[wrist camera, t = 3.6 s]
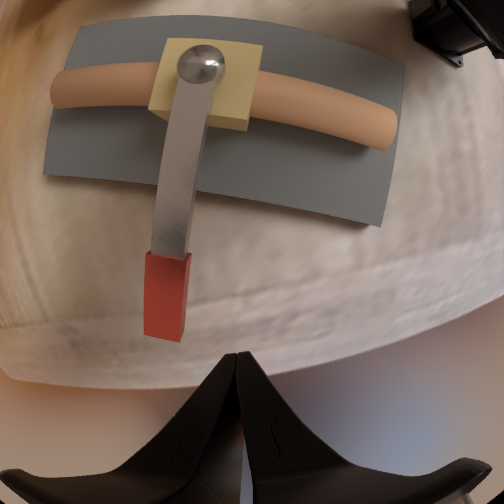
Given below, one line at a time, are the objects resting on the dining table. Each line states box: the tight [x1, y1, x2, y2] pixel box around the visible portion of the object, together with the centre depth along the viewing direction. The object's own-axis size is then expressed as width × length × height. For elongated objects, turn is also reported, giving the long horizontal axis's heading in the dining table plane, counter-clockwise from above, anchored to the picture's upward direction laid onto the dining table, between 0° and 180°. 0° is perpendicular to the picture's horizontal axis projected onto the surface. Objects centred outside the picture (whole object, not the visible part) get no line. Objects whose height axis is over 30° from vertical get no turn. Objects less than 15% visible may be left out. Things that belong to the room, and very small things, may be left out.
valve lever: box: [144, 44, 226, 343], centre depth 13 cm, size 16×2×1 cm, turn 170°
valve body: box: [43, 15, 404, 227], centre depth 15 cm, size 28×14×6 cm, turn 80°
